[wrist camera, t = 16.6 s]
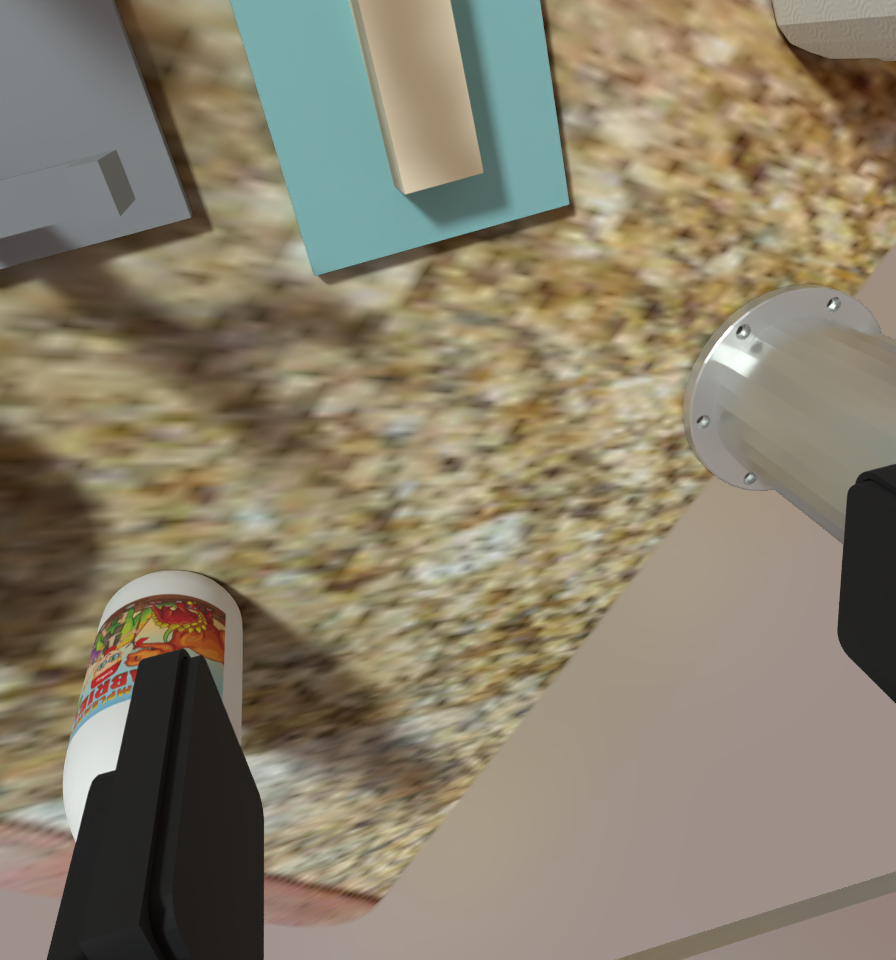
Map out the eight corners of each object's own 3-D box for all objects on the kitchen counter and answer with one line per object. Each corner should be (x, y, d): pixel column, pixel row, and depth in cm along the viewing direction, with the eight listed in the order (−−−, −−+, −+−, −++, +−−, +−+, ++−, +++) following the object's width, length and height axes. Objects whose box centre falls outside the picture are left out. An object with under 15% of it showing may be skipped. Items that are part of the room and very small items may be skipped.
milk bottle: (270, 607, 48) (282, 916, 30) (190, 695, 49) (158, 1036, 32) (155, 541, 44) (95, 845, 27) (73, 637, 46) (-34, 984, 29)
